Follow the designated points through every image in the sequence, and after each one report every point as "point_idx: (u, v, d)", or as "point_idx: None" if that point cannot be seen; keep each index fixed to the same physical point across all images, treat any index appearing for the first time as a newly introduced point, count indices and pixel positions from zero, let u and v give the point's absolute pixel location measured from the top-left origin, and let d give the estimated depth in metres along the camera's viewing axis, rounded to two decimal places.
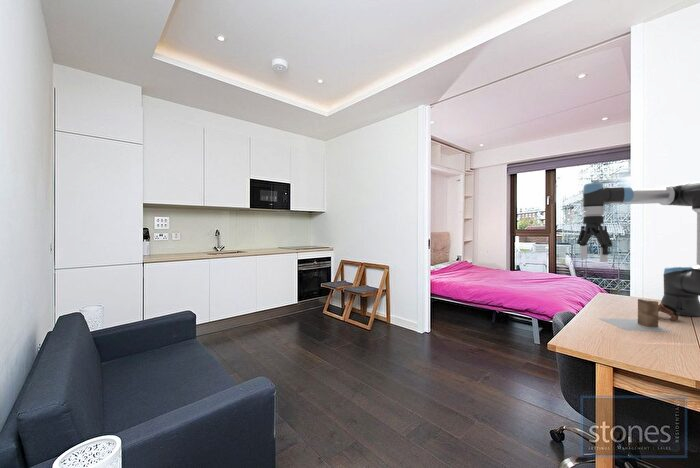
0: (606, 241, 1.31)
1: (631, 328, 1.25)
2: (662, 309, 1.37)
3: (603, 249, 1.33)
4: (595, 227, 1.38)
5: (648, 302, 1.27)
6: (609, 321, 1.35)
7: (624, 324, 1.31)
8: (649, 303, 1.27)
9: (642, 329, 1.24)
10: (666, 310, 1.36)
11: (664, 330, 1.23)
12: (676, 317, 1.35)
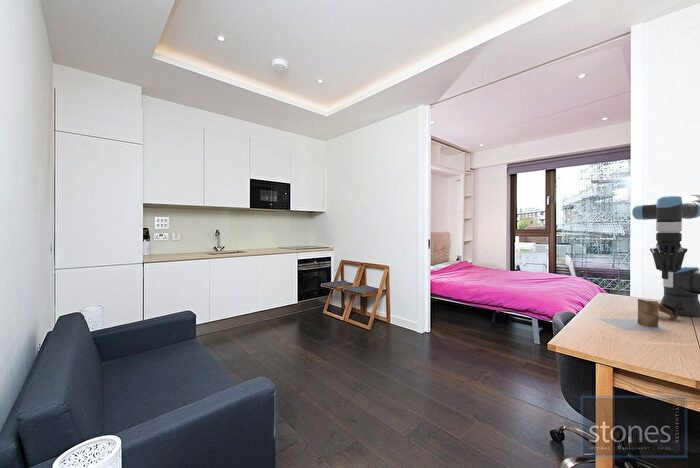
0: (656, 265, 1.29)
1: (631, 328, 1.25)
2: (661, 309, 1.38)
3: None
4: None
5: (648, 302, 1.27)
6: (609, 321, 1.35)
7: (624, 324, 1.31)
8: (649, 303, 1.27)
9: (642, 329, 1.24)
10: (665, 309, 1.37)
11: (664, 330, 1.23)
12: (675, 316, 1.35)
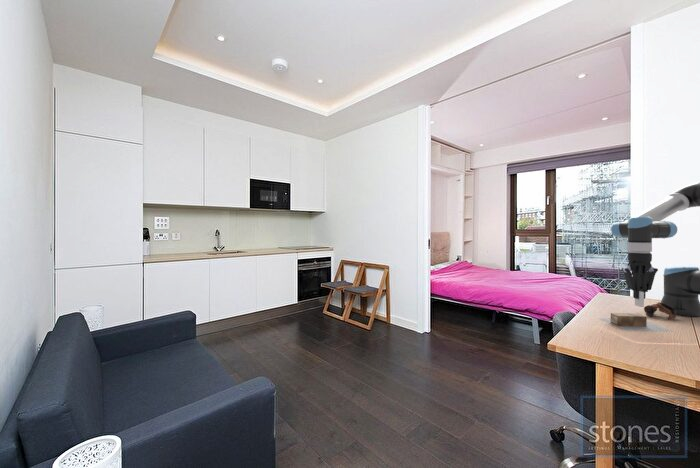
0: (628, 284, 1.30)
1: (631, 328, 1.25)
2: (660, 308, 1.39)
3: None
4: None
5: (619, 324, 1.28)
6: (609, 321, 1.35)
7: None
8: (620, 323, 1.28)
9: (642, 329, 1.24)
10: (663, 309, 1.38)
11: (664, 330, 1.23)
12: (673, 316, 1.36)
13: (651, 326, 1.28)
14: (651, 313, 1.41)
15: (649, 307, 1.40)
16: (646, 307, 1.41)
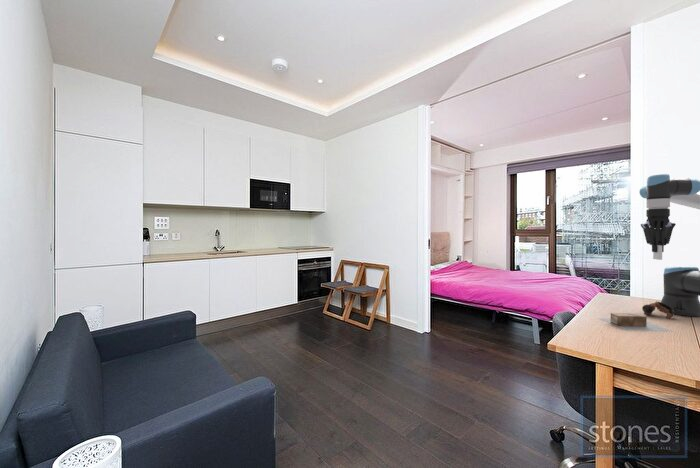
0: (647, 239, 1.38)
1: (631, 328, 1.25)
2: (658, 307, 1.40)
3: None
4: None
5: (619, 324, 1.28)
6: (609, 321, 1.35)
7: None
8: (620, 323, 1.28)
9: (642, 329, 1.24)
10: (661, 308, 1.39)
11: (664, 330, 1.23)
12: (671, 315, 1.38)
13: (651, 326, 1.28)
14: (649, 312, 1.42)
15: (647, 306, 1.42)
16: (644, 306, 1.42)
